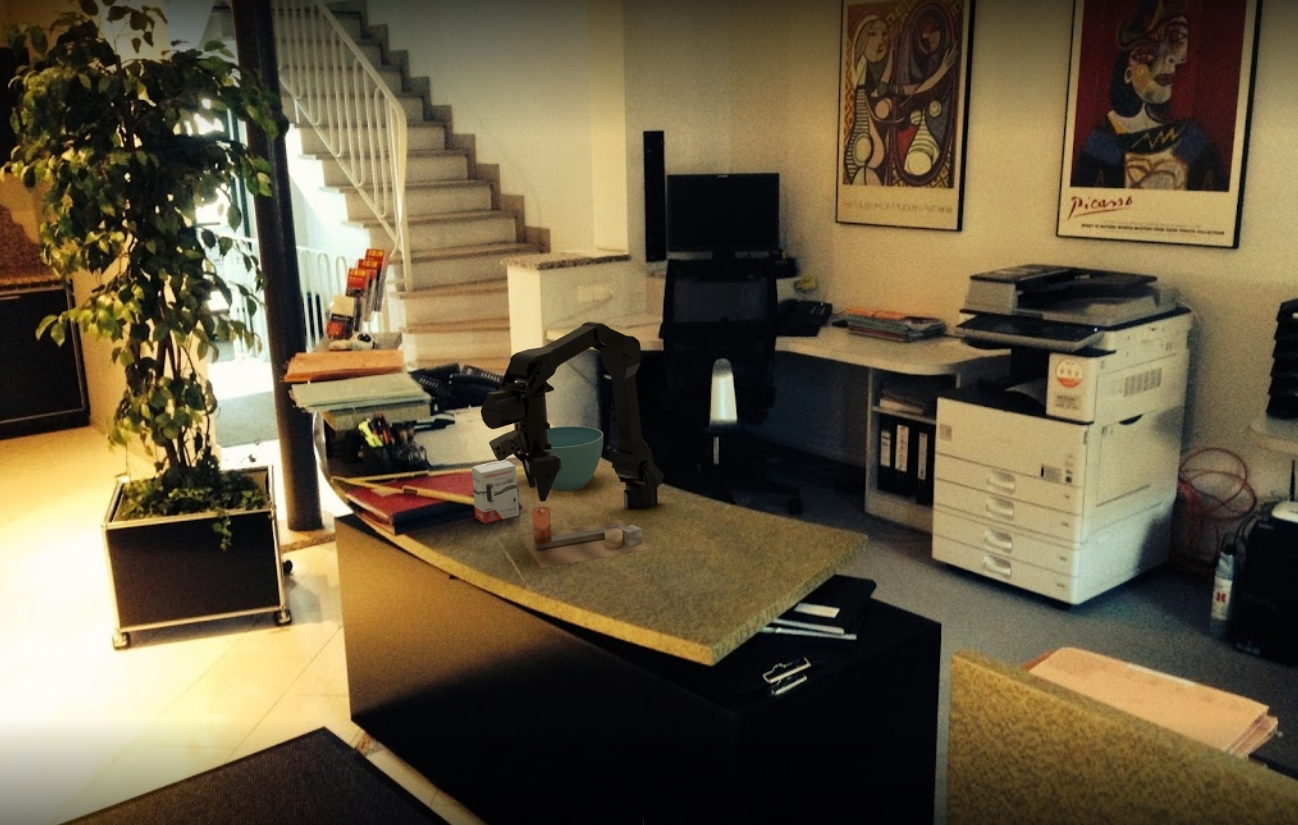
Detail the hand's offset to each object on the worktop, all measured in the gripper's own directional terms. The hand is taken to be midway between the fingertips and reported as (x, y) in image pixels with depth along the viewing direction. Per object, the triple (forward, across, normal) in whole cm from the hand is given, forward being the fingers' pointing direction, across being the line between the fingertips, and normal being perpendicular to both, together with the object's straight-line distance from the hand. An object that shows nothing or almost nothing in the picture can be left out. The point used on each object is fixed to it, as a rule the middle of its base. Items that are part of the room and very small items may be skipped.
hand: (537, 494), depth 218 cm
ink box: (+12, -24, -4) cm, 27 cm away
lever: (+11, +1, +6) cm, 12 cm away
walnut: (+11, +6, +14) cm, 18 cm away
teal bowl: (+12, -38, +15) cm, 43 cm away
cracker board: (+12, +2, +8) cm, 15 cm away
